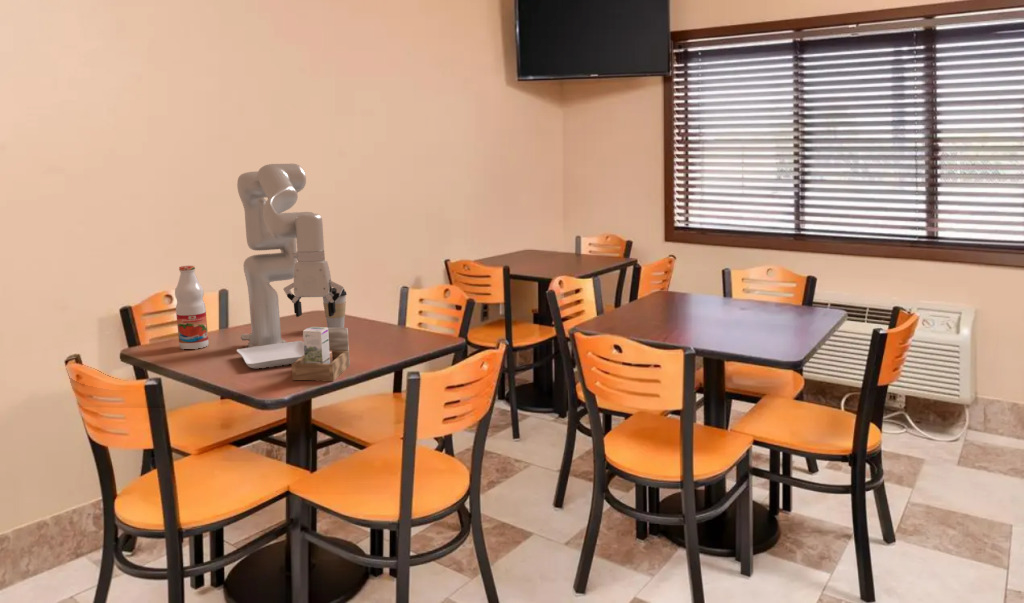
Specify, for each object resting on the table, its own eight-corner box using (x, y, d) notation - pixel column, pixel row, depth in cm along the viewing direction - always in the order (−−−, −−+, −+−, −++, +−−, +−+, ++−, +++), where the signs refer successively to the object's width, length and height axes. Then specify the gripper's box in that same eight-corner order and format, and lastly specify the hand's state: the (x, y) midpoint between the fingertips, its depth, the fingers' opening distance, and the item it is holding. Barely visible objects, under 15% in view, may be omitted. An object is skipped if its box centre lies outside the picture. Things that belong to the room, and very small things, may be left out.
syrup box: (331, 373, 231) (328, 326, 228) (323, 379, 225) (320, 330, 223) (313, 373, 232) (310, 326, 229) (305, 378, 226) (302, 330, 224)
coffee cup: (345, 331, 288) (343, 291, 285) (320, 331, 288) (317, 291, 285) (351, 325, 297) (348, 287, 294) (326, 326, 297) (324, 287, 294)
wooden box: (333, 381, 223) (331, 340, 221) (291, 381, 224) (288, 340, 222) (349, 365, 240) (347, 327, 238) (310, 365, 241) (307, 327, 239)
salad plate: (247, 373, 234) (246, 362, 233) (236, 358, 252) (235, 348, 252) (317, 364, 243) (317, 353, 243) (301, 350, 262) (301, 340, 261)
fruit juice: (209, 342, 273) (202, 263, 268) (208, 348, 264) (201, 267, 259) (180, 345, 270) (172, 265, 265) (178, 351, 261) (170, 269, 256)
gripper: (276, 259, 219) (281, 318, 222) (337, 258, 218) (340, 318, 221) (286, 256, 226) (290, 313, 229) (344, 255, 225) (348, 313, 228)
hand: (315, 315), depth 225 cm, fingers open, 9 cm apart
